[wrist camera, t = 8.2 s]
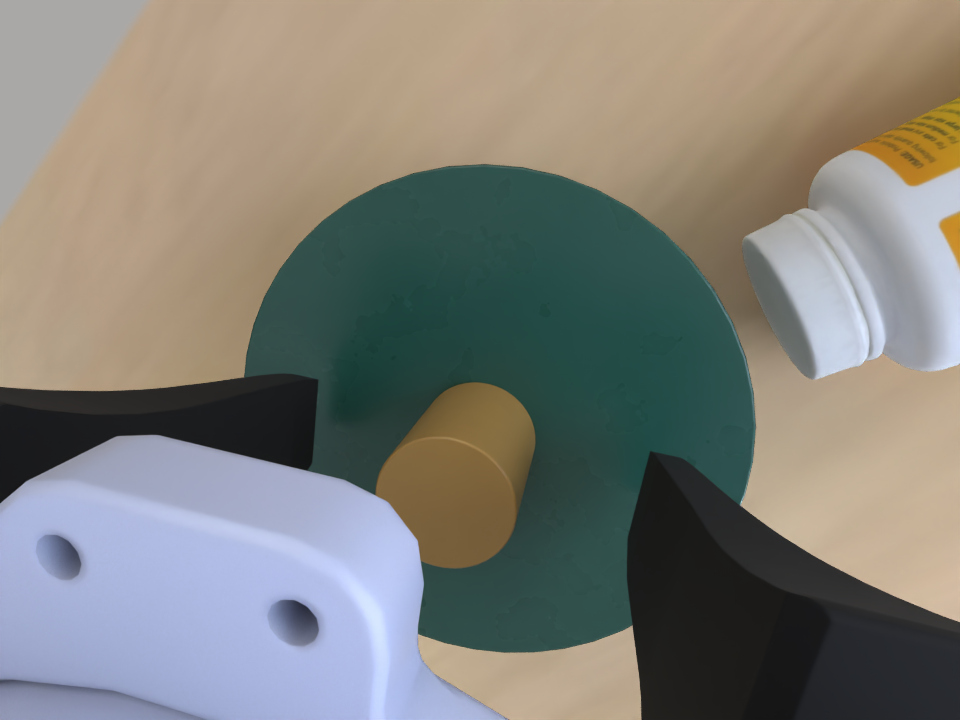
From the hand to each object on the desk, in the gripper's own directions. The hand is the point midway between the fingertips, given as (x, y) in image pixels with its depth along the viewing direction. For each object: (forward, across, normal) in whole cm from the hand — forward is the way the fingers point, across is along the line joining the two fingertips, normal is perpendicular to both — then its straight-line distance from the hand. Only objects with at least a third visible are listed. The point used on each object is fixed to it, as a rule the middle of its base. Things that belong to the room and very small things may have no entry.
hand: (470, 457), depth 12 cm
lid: (+2, 0, 0) cm, 2 cm away
